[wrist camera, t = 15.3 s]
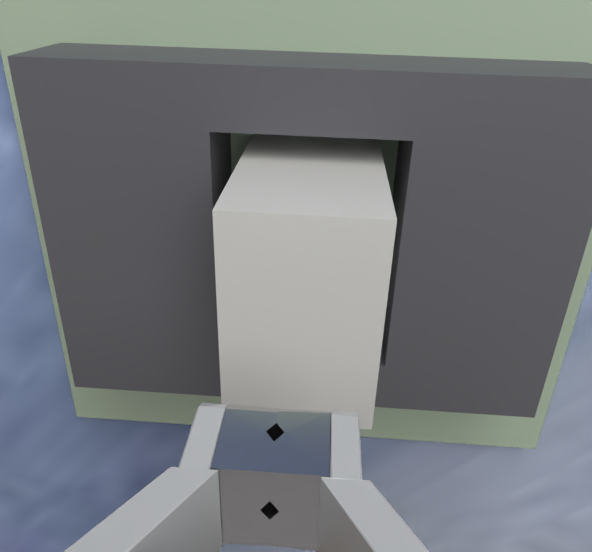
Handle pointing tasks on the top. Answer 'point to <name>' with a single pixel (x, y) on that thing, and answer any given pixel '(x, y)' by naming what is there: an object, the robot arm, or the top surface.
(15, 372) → the top surface
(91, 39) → the board
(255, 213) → the plug
